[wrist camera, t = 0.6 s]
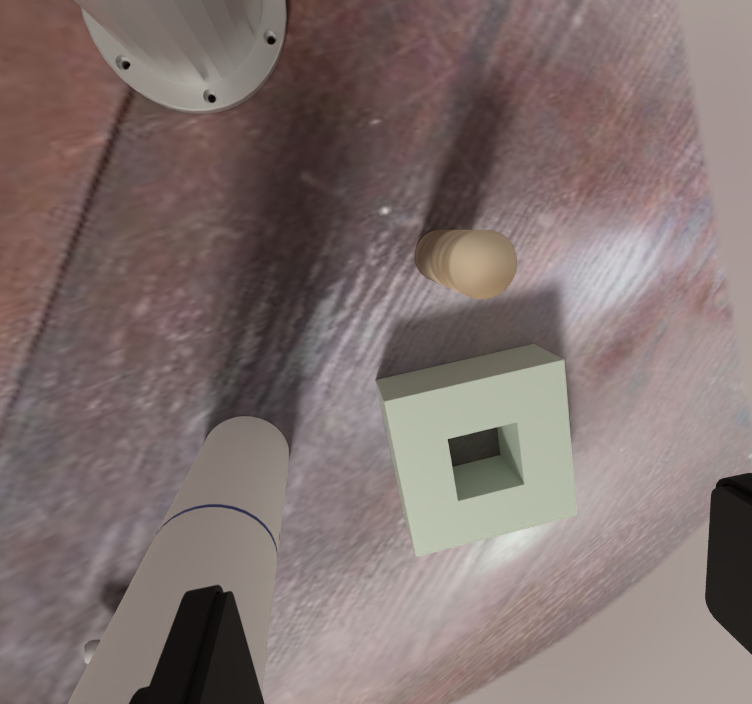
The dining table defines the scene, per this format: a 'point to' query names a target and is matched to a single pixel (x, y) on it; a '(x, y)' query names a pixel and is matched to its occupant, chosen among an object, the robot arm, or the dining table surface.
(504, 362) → the socket block
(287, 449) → the cylindrical container
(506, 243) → the maple peg
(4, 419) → the dining table surface
